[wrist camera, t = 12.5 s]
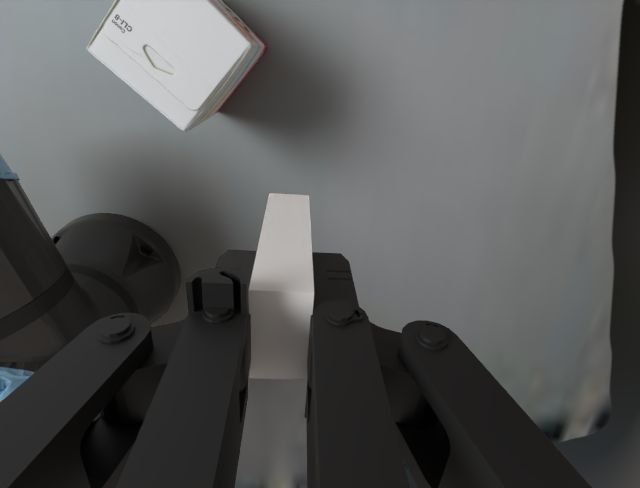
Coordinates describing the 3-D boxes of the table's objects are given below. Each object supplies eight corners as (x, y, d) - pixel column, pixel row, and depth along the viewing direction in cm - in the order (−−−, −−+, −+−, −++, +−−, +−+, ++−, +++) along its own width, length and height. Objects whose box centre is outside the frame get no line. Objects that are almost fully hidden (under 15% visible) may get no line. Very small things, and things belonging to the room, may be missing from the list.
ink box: (270, 46, 37) (256, 46, 27) (217, 113, 40) (185, 138, 30) (196, -29, 35) (148, -61, 24) (144, 49, 37) (79, 51, 27)
